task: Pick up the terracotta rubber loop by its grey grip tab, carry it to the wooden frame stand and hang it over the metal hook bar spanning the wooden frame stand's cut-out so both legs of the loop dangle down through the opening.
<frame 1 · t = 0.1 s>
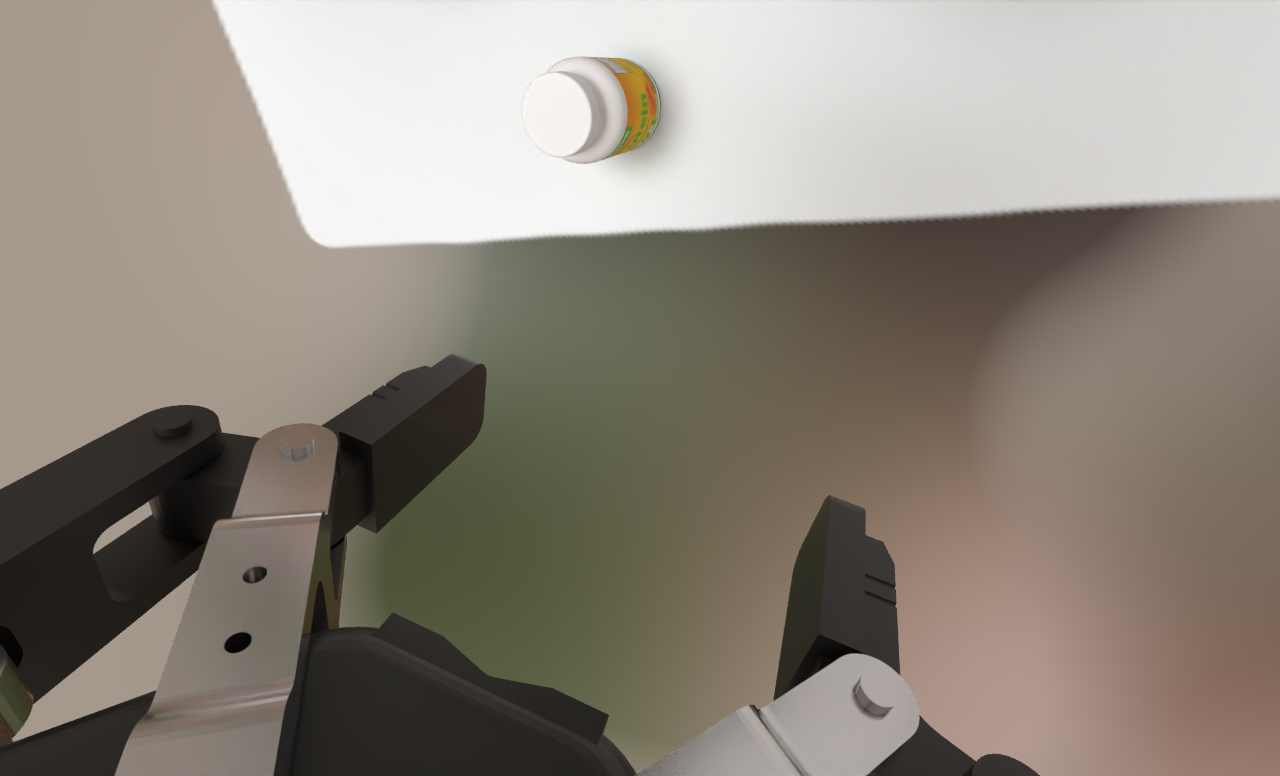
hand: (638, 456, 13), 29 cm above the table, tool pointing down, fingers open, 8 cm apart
supplement bottle: (623, 105, 38), on the table
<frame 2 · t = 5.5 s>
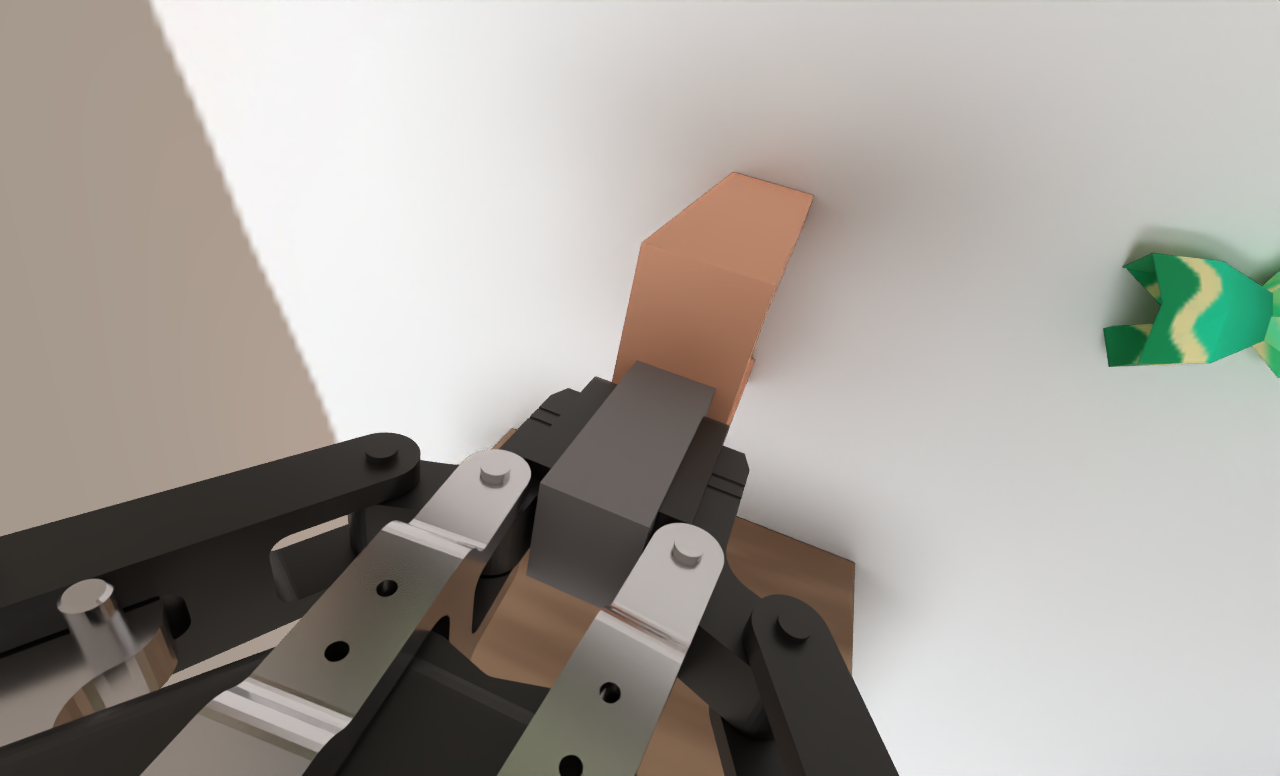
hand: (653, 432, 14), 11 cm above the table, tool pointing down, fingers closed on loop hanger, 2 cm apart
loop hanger: (740, 286, 23), on the table, touching gripper
wooden frame stand: (634, 617, 34), on the table
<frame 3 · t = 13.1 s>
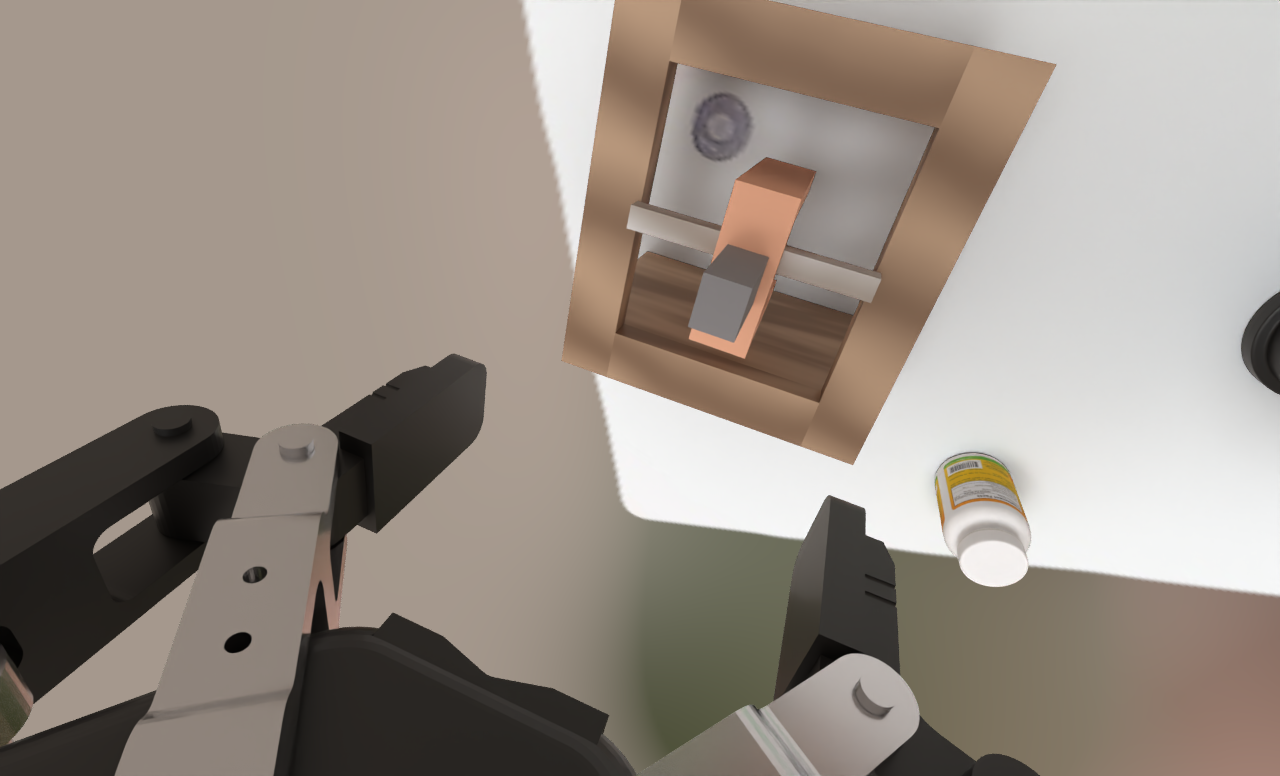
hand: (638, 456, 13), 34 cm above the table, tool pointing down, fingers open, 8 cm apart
supplement bottle: (971, 478, 47), on the table
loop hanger: (768, 230, 36), point 7 cm above the table, touching wooden frame stand
wooden frame stand: (785, 194, 42), on the table
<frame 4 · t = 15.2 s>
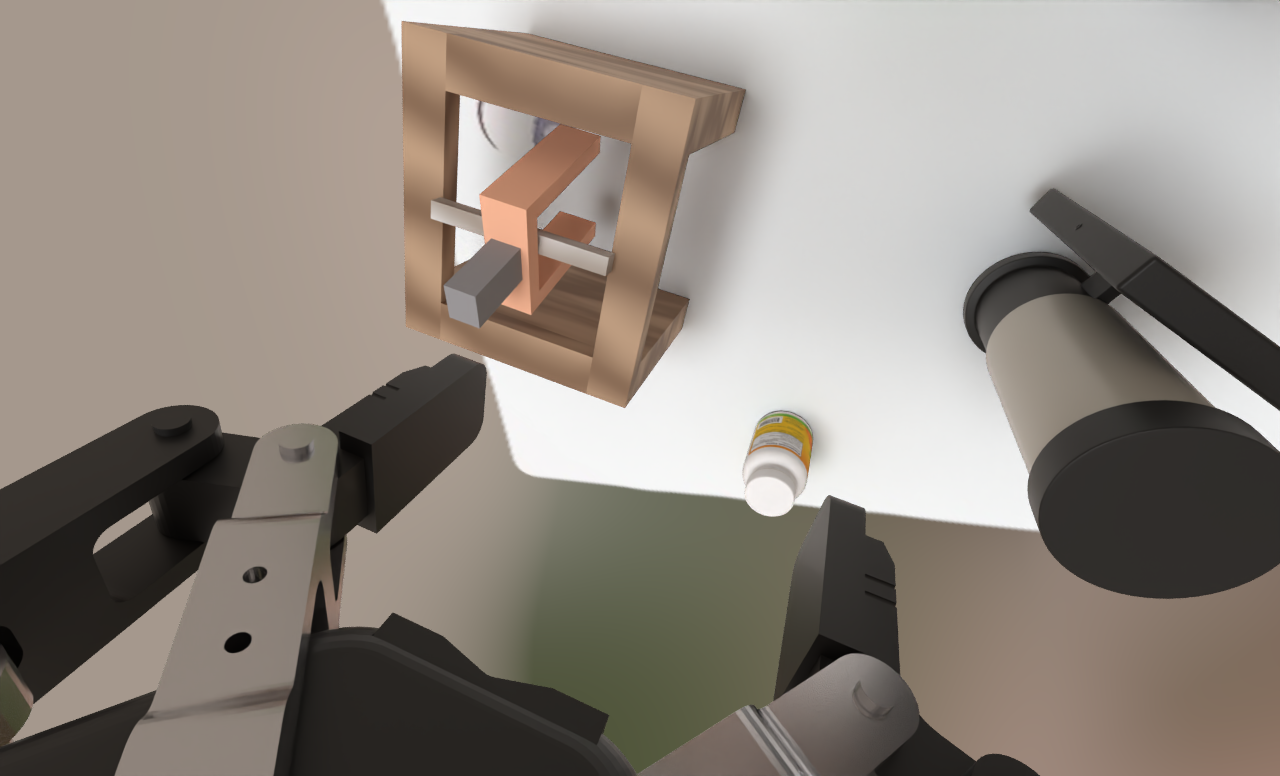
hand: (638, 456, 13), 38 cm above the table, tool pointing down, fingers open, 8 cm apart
supplement bottle: (783, 433, 55), on the table
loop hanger: (578, 183, 43), point 7 cm above the table, tilted 17°, touching wooden frame stand
wooden frame stand: (610, 192, 50), on the table
light fixture: (1040, 292, 43), on the table
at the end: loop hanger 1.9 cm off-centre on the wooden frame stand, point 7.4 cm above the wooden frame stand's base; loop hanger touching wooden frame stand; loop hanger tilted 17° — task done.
